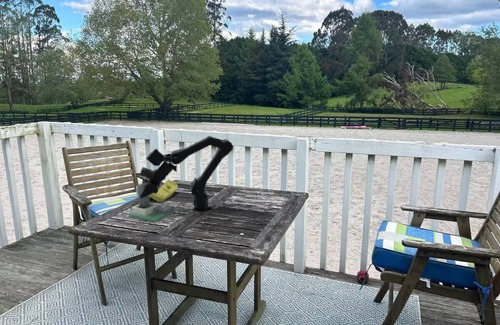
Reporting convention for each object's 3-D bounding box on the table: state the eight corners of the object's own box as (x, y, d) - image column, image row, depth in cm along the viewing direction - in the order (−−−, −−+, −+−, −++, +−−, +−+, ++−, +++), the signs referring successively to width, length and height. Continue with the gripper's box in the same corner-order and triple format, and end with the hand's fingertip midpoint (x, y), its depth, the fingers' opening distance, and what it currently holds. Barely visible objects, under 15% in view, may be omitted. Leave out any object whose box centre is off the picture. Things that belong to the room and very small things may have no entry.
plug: (150, 206, 183) (148, 183, 181) (149, 209, 179) (147, 186, 176) (138, 207, 182) (136, 184, 179) (137, 210, 177) (135, 187, 175)
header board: (174, 212, 183) (173, 204, 182) (154, 222, 171) (154, 213, 170) (149, 207, 190) (148, 199, 189) (129, 216, 178) (128, 208, 177)
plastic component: (162, 199, 196) (147, 190, 198) (158, 210, 199) (143, 201, 201) (180, 186, 214) (166, 178, 215) (177, 196, 217) (163, 188, 218)
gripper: (149, 157, 185) (128, 180, 185) (148, 166, 167) (125, 191, 167) (166, 171, 188) (146, 194, 188) (167, 181, 171) (145, 206, 171)
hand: (140, 195), depth 179 cm, fingers closed on plug, 5 cm apart
